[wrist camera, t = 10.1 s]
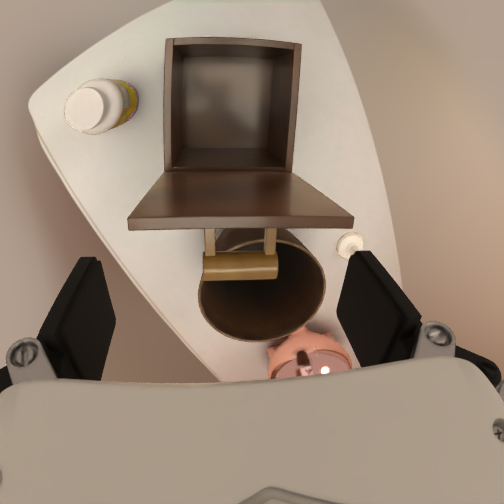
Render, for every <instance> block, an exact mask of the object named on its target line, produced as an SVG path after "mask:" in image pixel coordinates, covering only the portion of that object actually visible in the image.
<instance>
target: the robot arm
mask: <svg viewBox="0 0 504 504" xmlns="http://www.w3.org/2000/svg"><path fill="white" fill-rule="evenodd" d="M337 317H338V319H339V321H340V324H341V326H342V328H343V330H344V332H345V334H346V336H347V338H348V340H349V342H350V344H351V346H352V348H353V351H354V353H355V355H356V357H357V359H358V361H359V363H360V366H361V368H356V369H350V370H343V371H337V372H330V373H323V374H315V375H307V376H298V377H289V378H279V379H268V380H255V381H240V382H220V383H173V384H172V383H133V382H110V381H101V377H102V373H103V369H104V365H105V361H106V357H107V354H108V350H109V346H110V342H111V339H112V335H113V332H114V328H115V324H116V318H115V314H114V310H113V307H112V303H111V299H110V296H109V292H108V288H107V284H106V280H105V276H104V272H103V268H102V264H101V261H97V259H96V257H81V258H80V259H79V260H78V262H77V263H76V265H75V267H74V268H73V270H72V272H71V273H70V275H69V277H68V279H67V281H66V282H65V284H64V286H63V287H62V289H61V291H60V293H59V294H58V297H57V298H56V300H55V302H54V304H53V306H52V307H51V310H50V311H49V313H48V315H47V317H46V319H45V321H44V323H43V325H42V327H41V329H40V331H39V334H38V336H37V338H36V339H35V338H30V337H29V338H23V339H20V340H18V341H16V342H15V343H14V344H13V345H12V346H11V347H10V348H9V350H8V351H7V354H6V364H7V366H5V367H3V368H2V369H0V504H504V380H501V373H500V370H499V368H498V367H497V366H496V364H495V363H494V362H492V361H490V360H488V359H486V358H484V357H482V356H479V355H477V354H475V353H472V352H470V351H467V350H465V349H463V348H460V347H459V346H456V338H455V335H454V333H453V331H452V330H451V329H450V328H449V327H447V326H446V325H444V324H443V323H440V322H437V321H428V322H425V323H424V324H422V323H421V321H420V319H421V317H422V316H421V315H420V313H419V312H418V311H417V309H416V308H415V307H414V305H413V304H412V303H411V301H410V300H409V299H408V297H407V296H406V295H405V294H404V292H403V291H402V290H401V288H400V287H399V286H398V284H397V283H396V282H395V281H394V279H393V278H392V277H391V276H390V274H389V273H388V272H387V271H386V269H385V268H384V267H383V266H382V264H381V263H380V262H379V261H378V260H377V258H376V257H375V256H374V255H373V254H372V252H371V251H355V253H354V254H353V255H351V256H350V258H349V262H348V266H347V271H346V275H345V279H344V283H343V287H342V291H341V294H340V298H339V302H338V306H337Z"/></svg>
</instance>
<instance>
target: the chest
mask: <svg viewBox="0 0 504 504" xmlns="http://www.w3.org/2000/svg"><path fill="white" fill-rule="evenodd" d="M301 47H302V44H299V43H291V42H283V41H274V40H263V39H249V38H226V37H192V38H169V39H166V45H165V66H164V171H165V172H183V171H261V172H291V173H292V163H293V152H294V141H295V129H296V117H297V105H298V91H299V78H300V63H301Z"/></svg>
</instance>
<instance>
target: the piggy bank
mask: <svg viewBox="0 0 504 504" xmlns="http://www.w3.org/2000/svg"><path fill="white" fill-rule="evenodd" d="M267 353H268V355H269V357H270V362H269V367H268V379H279V378H289V377H298V376H307V375H315V374H323V373H330V372H337V371H343V370H350V369H352V362H351V359H350V356H349V354H348V353H347V351H346V350H345V348H344V347H343V346H342V345H341V344H339V343H338V342H337V341H335V340H334V339H333V336H332V334H331V333H329V332H326V333H323V334H319V333H316V332H312V331H309V330H307V328H306V326H305V325H304V326H303V327H302V328H300V329H299V330H297V331H296V332H294V333H292V334H290V335H289V337H288V338H287V339H286V340H285V341H283V342H282V343H281V344H280V345H279V346H271V347H269V348H268V350H267Z"/></svg>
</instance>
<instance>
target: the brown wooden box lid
mask: <svg viewBox="0 0 504 504" xmlns="http://www.w3.org/2000/svg"><path fill="white" fill-rule="evenodd" d="M127 220H128V230H129V231H132V230H171V229H204V235H205V251H204V252H203V280H204V281H224V280H261V279H276V278H277V275H278V256H277V253H276V251H275V249H276V235H277V228H339V229H352V228H353V224H354V216H352V215H351V214H350V213H348V212H347V211H346V210H344V209H343V208H342V207H340V206H339V205H338V204H336V203H335V202H333V201H332V200H331V199H329V198H328V197H327V196H325V195H324V194H322V193H321V192H320V191H318V190H317V189H315V188H314V187H313V186H311V185H310V184H308V183H307V182H305V181H304V180H303V179H301V178H300V177H298V176H297V175H295V174H294V173H291V172H261V171H183V172H164V173H163V174H162V175H161V176H160V178H159V179H158V180H157V181H156V183H155V184H154V185H153V186H152V187H151V189H150V190H149V191H148V192H147V194H146V195H145V196H144V197H143V199H142V200H141V201H140V202H139V204H138V205H137V206H136V208H135V209H134V210H133V211H132V213H131V214H130V215H129V217H128V218H127ZM236 228H265V236H264V250H262V251H215V229H236Z"/></svg>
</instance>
